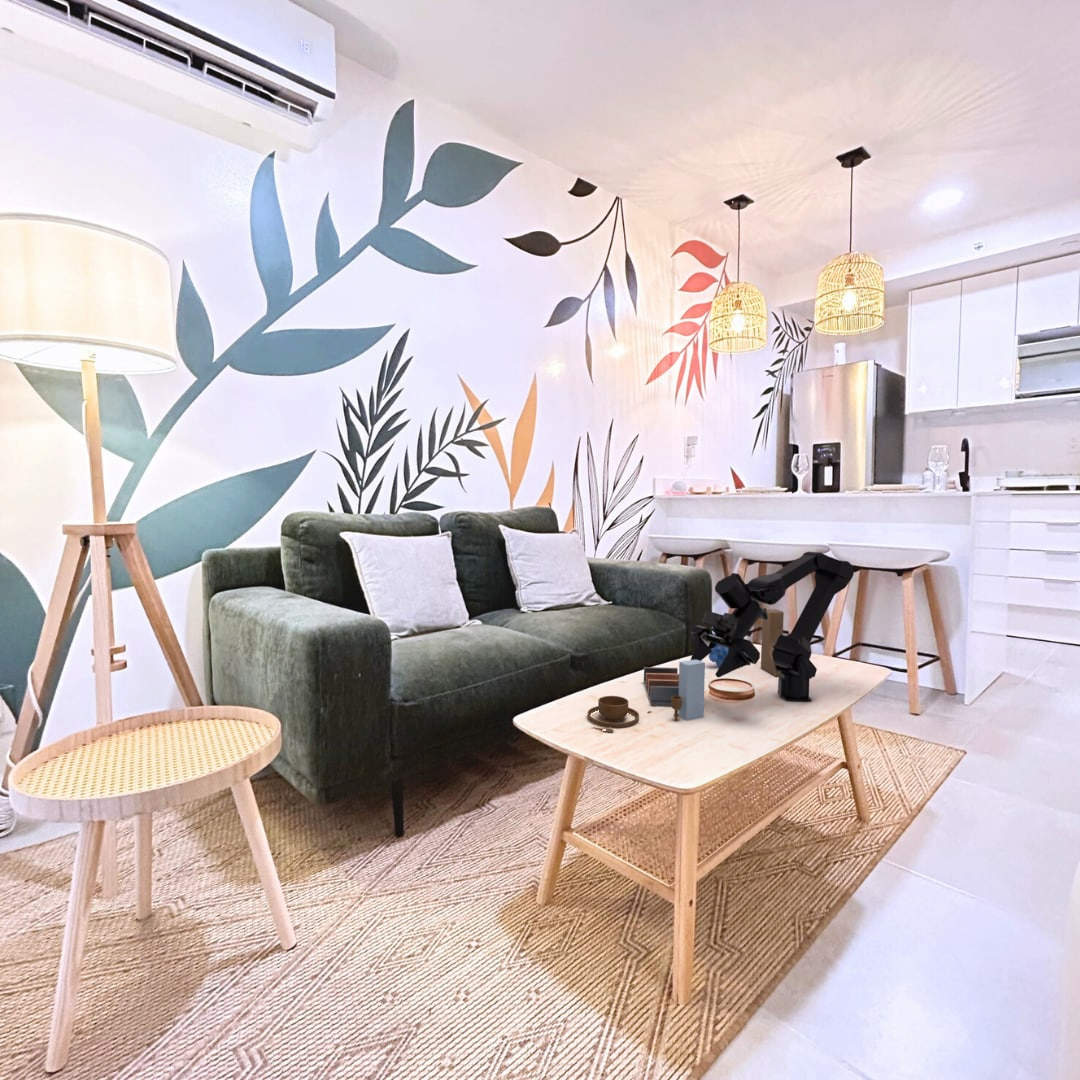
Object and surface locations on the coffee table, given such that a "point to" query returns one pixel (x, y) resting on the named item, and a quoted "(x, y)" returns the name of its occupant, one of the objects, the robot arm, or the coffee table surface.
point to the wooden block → (771, 639)
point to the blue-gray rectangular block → (691, 689)
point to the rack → (661, 685)
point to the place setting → (622, 711)
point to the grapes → (718, 654)
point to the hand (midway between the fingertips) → (703, 670)
